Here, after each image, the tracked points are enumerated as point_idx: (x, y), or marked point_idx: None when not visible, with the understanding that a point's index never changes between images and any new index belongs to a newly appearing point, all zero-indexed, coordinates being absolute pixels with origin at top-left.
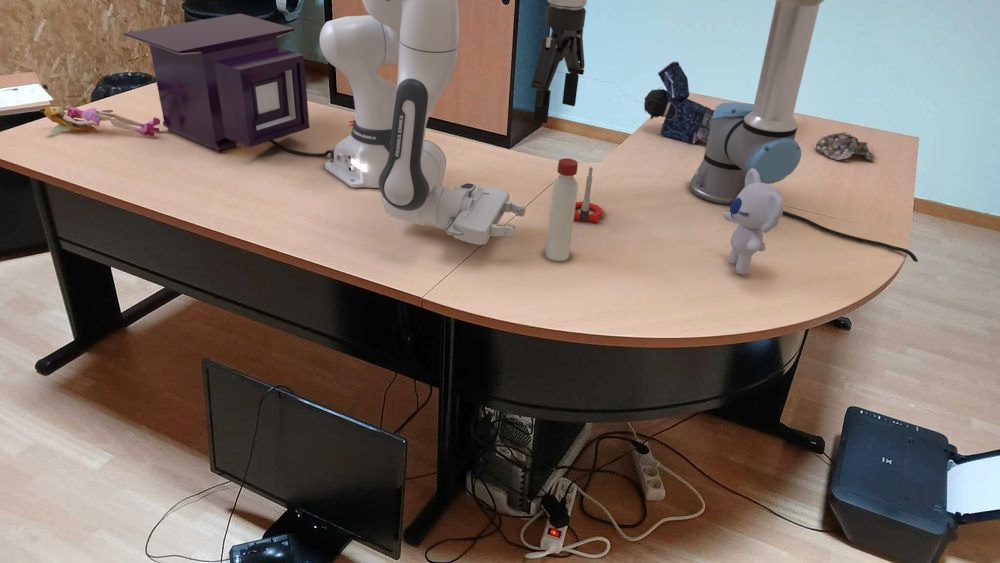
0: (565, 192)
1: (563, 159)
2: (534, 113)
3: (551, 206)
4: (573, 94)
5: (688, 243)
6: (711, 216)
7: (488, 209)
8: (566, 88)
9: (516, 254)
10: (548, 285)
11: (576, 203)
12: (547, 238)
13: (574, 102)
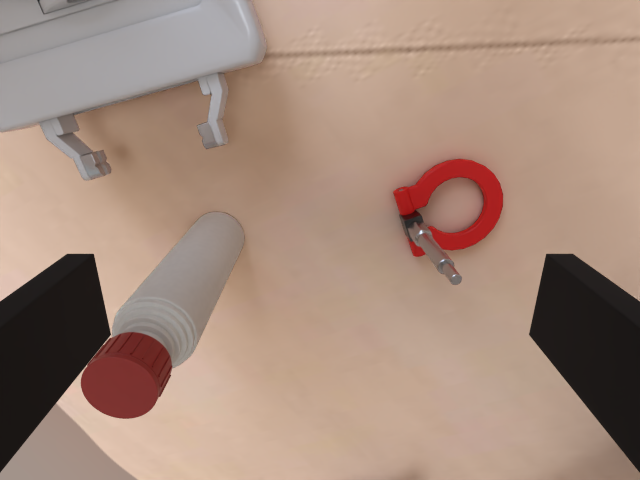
0: None
1: (126, 367)
2: (34, 278)
3: (152, 271)
4: (577, 380)
5: (428, 417)
6: (574, 422)
7: (99, 68)
8: (620, 342)
9: (159, 159)
10: (102, 270)
11: (478, 174)
12: (190, 229)
13: (547, 351)
